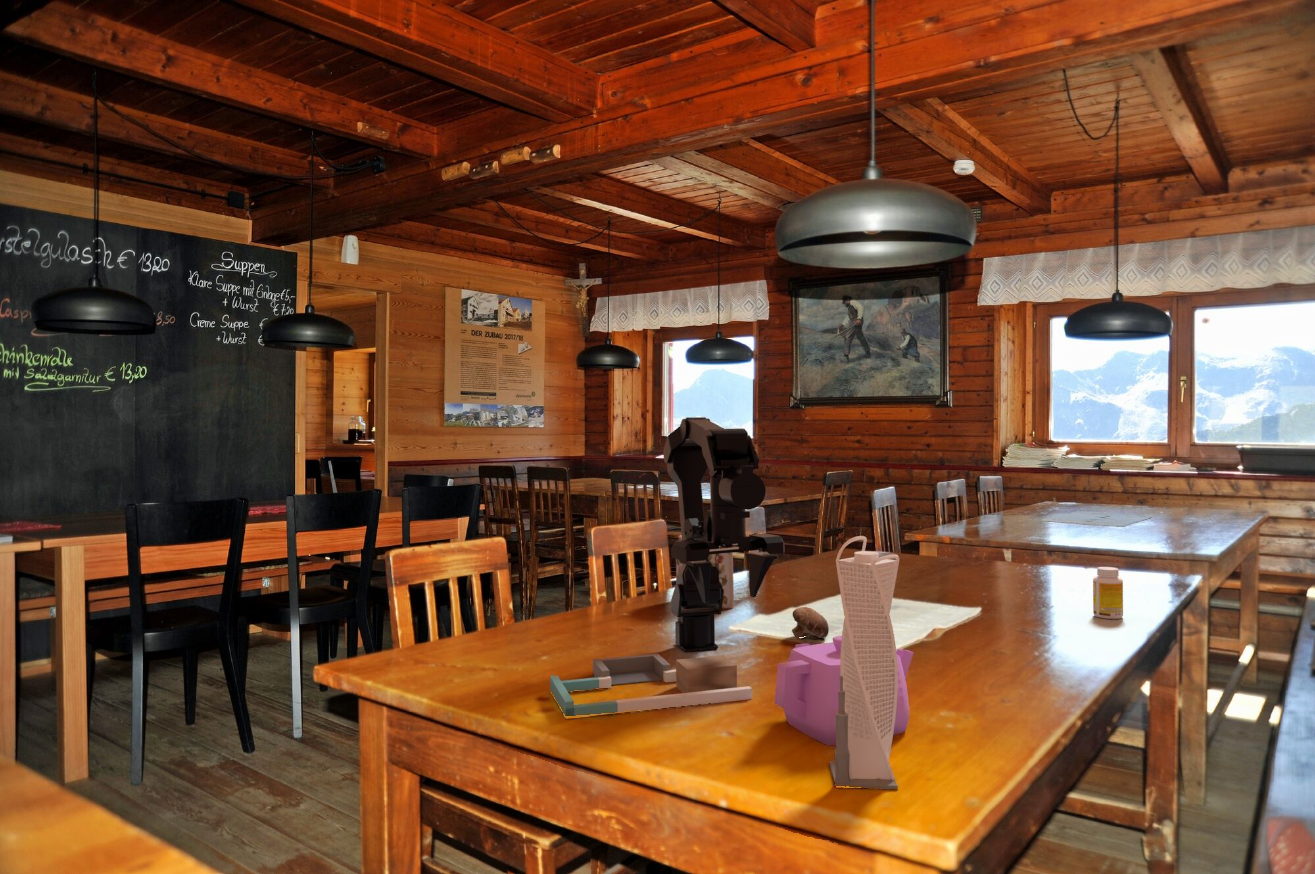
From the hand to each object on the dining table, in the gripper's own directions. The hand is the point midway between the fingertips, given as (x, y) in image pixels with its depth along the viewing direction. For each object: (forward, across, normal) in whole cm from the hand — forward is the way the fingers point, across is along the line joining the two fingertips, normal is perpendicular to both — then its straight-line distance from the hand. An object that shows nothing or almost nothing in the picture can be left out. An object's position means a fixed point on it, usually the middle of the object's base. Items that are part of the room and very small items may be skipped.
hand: (729, 599), depth 144 cm
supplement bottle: (+13, -91, +3) cm, 92 cm away
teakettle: (+14, -2, +26) cm, 30 cm away
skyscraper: (+14, +7, +41) cm, 44 cm away
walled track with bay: (+13, +15, -2) cm, 20 cm away
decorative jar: (+12, -25, -52) cm, 59 cm away
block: (+13, +7, +4) cm, 15 cm away
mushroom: (+13, -27, -14) cm, 33 cm away
